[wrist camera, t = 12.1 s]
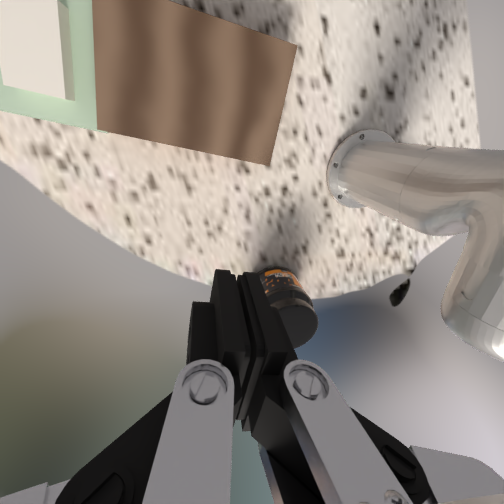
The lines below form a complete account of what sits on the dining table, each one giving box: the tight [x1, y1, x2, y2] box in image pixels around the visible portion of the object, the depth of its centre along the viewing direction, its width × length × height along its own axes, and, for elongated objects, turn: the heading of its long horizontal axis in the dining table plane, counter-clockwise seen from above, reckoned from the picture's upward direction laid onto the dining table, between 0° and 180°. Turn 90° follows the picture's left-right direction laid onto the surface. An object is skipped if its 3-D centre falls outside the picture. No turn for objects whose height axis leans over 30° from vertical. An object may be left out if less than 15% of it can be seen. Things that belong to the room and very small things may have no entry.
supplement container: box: [258, 267, 318, 348], centre depth 45 cm, size 10×10×12 cm
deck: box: [92, 0, 297, 166], centre depth 32 cm, size 22×14×4 cm, turn 77°
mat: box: [0, 0, 108, 133], centre depth 29 cm, size 12×15×1 cm
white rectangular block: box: [0, 0, 75, 101], centre depth 28 cm, size 6×9×2 cm, turn 167°
